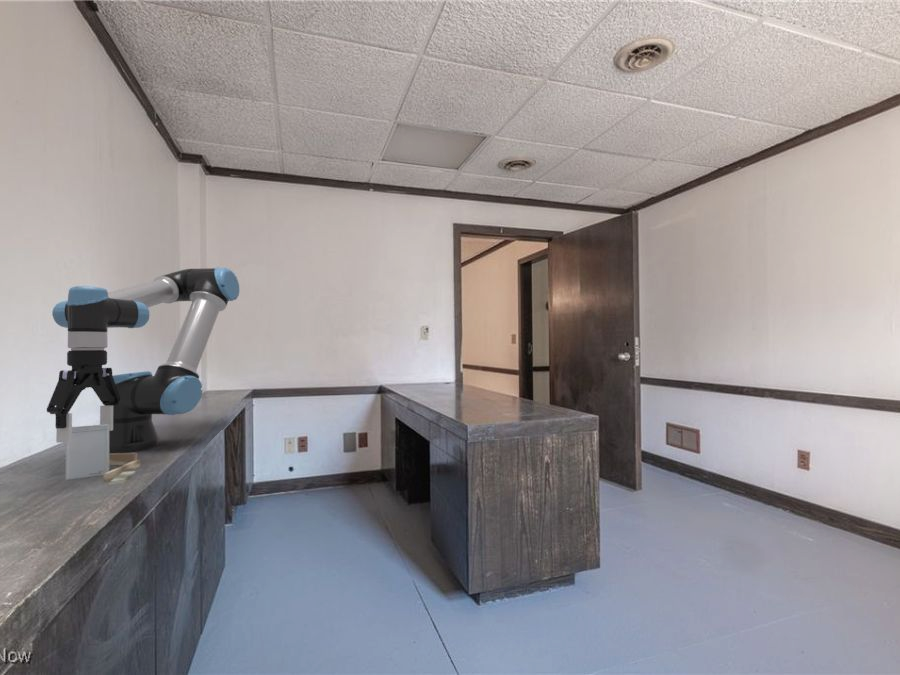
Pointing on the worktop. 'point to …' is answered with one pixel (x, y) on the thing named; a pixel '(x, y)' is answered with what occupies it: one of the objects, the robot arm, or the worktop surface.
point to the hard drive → (87, 452)
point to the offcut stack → (122, 477)
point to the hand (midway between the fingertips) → (86, 436)
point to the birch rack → (123, 459)
